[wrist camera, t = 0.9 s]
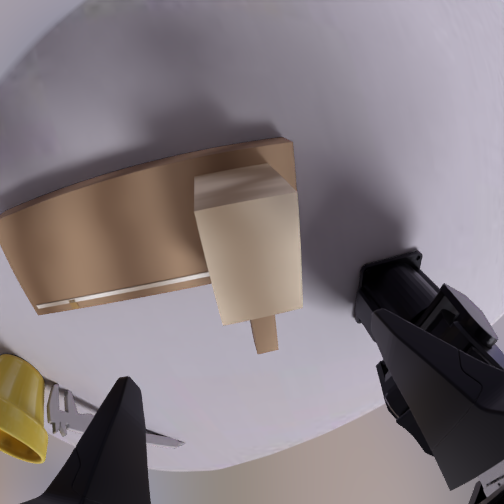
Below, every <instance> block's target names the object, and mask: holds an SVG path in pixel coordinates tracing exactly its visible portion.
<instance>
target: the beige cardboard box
mask: <svg viewBox="0 0 504 504" xmlns="http://www.w3.org/2000/svg"><path fill="white" fill-rule="evenodd" d="M194 213H195V217H196V222H197V226H198V230H199V234H200V239H201V243H202V247H203V251H204V255H205V259H206V263H207V267H208V271H209V275H210V279H211V283H212V286H213V290H214V294H215V298H216V301H217V305H218V309H219V313H220V316H221V320H222V323H223V326H224V325H229V324H234V323H239V322H244V321H248V320H250V322H251V328H252V333H253V338H254V342H255V346H256V350H257V354H262V353H266V352H270V351H275V350H278V340H277V330H276V321H275V314H280V313H284V312H288V311H292V310H296V309H300V308H303V296H302V266H301V243H300V224H299V208H298V193H297V191H296V190H295V189H294V188H293V187H292V186H291V185H290V184H289V183H288V182H287V181H286V180H285V179H284V178H283V177H282V176H281V175H280V174H279V173H278V172H277V171H276V170H274V169H273V168H272V167H271V166H270V165H269V164H268V163H266V164H260V165H254V166H248V167H242V168H236V169H231V170H225V171H220V172H215V173H210V174H205V175H200V176H195V177H194Z"/></svg>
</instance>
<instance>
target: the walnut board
mask: <svg viewBox="0 0 504 504" xmlns="http://www.w3.org/2000/svg"><path fill="white" fill-rule="evenodd" d="M266 163H268V164H269V165H270V166H271V167H272V168H273V169H274V170H276V171H277V172H278V173H279V174H280V175H281V176H282V177H283V178H284V179H285V180H286V181H287V182H288V183H289V184H290V185H291V186H292V187H293V188H294V189H295V190H296V191H297V188H296V174H295V162H294V151H293V142H292V141H290V140H288V139H286V138H284V137H279V138H271V139H264V140H257V141H250V142H244V143H237V144H232V145H226V146H220V147H215V148H210V149H204V150H199V151H195V152H190V153H185V154H181V155H176V156H172V157H167V158H163V159H159V160H155V161H151V162H147V163H143V164H139V165H136V166H132V167H128V168H125V169H121V170H118V171H114V172H111V173H108V174H104V175H101V176H98V177H95V178H91V179H88V180H85V181H82V182H79V183H76V184H73V185H70V186H67V187H65V188H62V189H59V190H56V191H54V192H51V193H48V194H46V195H43V196H40V197H38V198H35V199H33V200H30V201H28V202H25V203H23V204H20V205H18V206H16V207H13V208H11V209H9V210H7V211H5V212H3V213H2V214H1V215H0V245H1V247H2V249H3V252H4V254H5V256H6V258H7V260H8V262H9V264H10V266H11V268H12V270H13V272H14V274H15V276H16V278H17V280H18V281H19V283H20V285H21V287H22V289H23V290H24V292H25V294H26V296H27V297H28V299H29V301H30V303H31V304H32V306H33V307H34V309H35V311H36V312H37V314H38V315H43V314H49V313H55V312H61V311H67V310H73V309H79V308H85V307H90V306H96V305H102V304H107V303H113V302H118V301H124V300H129V299H135V298H140V297H145V296H151V295H156V294H161V293H166V292H172V291H177V290H182V289H187V288H192V287H197V286H202V285H207V284H212V283H211V279H210V275H209V271H208V267H207V263H206V259H205V255H204V251H203V247H202V243H201V239H200V234H199V230H198V226H197V222H196V217H195V213H194V177H195V176H200V175H205V174H210V173H215V172H220V171H225V170H231V169H236V168H242V167H248V166H254V165H260V164H266Z"/></svg>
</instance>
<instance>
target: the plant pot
mask: <svg viewBox="0 0 504 504" xmlns="http://www.w3.org/2000/svg"><path fill="white" fill-rule="evenodd" d="M44 389H45V383H44V379H43V377H42V376H41V374H40V373H39V372H38V371H37V370H36V369H35V368H34V367H33V366H32V365H31V364H29V363H28V362H26V361H25V360H23V359H21V358H19V357H17V356H14V355H11V354H2V355H0V451H2V452H4V453H6V454H8V455H10V456H12V457H15V458H18V459H20V460H23V461H26V462H31V463H36V464H40V463H43V462H44V461H45V458H46V451H47V444H48V434H47V432H46V430H45V429H44Z"/></svg>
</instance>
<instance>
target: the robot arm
mask: <svg viewBox="0 0 504 504" xmlns="http://www.w3.org/2000/svg"><path fill="white" fill-rule="evenodd" d="M421 260H422V254H421V253H420V252H419V251H415V252H411V253H407V254H404V255H400V256H396V257H393V258H389V259H385V260H381V261H378V262H374V263H370V264H366V265H364V266H363V267H362V269H361V274H360V283H359V289H358V291H357V299H356V307H355V313H356V314H355V320H356V322H357V323H362V324H363V325H364V327H365V328H366V330H367V331H368V333H369V334H370V336H371V338H372V339H373V341H374V342H376V343H377V345H378V347H379V350H380V352H381V354H382V357H383V360H382V361H380V362H379V363H378V364H377V365H376V368H377V372H378V375H379V379H380V383H381V387H382V391H383V395H384V399H385V403H386V405H387V408H388V411H389V412H390V413H391V414H392V415H393V416H394V417H395V418H396V419H397V420H396V422H397V423H398V424H399V425H400V426H402V427H403V428H405V429H406V430H407V431H408V432H409V433H411V435H413V437H414V438H415V439H416V440H417V442H418V443H419V444H420V446H421V447H422V448H423V450H424V452H425V453H427V454H429V455H432V456H434V457H435V459H436V461H437V463H438V466H439V468H440V470H441V472H442V474H443V476H444V478H445V481H446V483H447V485H448V487H449V489H450V491H451V490H453V489H455V488H457V487H459V486H461V485H463V484H465V483H467V482H468V481H470V480H472V479H474V478H476V477H477V476H478V478H479V480H480V481H478V482H477V483H476V485H475V488H474V491H473V493H472V496H471V499H470V501H469V504H504V354H503V353H502V351H501V350H500V349H499V348H498V347H497V346H496V345H495V343H496V342H497V340H498V337H497V335H496V333H495V332H494V330H493V328H492V327H491V325H490V323H489V322H488V320H487V318H486V317H485V315H484V314H483V312H482V311H481V310H480V309H479V308H478V307H477V306H476V305H475V304H474V303H473V302H472V301H471V300H470V299H469V298H468V297H467V296H466V295H464V294H462V293H461V292H459V291H457V290H455V289H454V288H452V287H450V286H448V285H446V284H445V283H444V284H443V285H442V287H441V288H440V289H439V288H438V287H437V286H436V285H435V284H434V283H433V282H432V281H431V280H430V279H429V278H428V277H427V276H426V275H425V274H424V273H423V272H422V271H421V270H420V265H421ZM367 270H368V271H367ZM20 504H151V501H150V492H149V480H148V466H147V449H146V427H145V419H144V411H143V403H142V394H141V390H140V388H139V387H138V386H137V385H136V383H135V382H134V381H133V380H132V379H131V378H130V377H128V376H126V377H120V378H119V379H118V380H117V381H116V383H115V384H114V386H113V387H112V389H111V391H110V392H109V394H108V395H107V397H106V398H105V400H104V401H103V403H102V405H101V406H100V408H99V409H98V411H97V413H96V414H95V416H94V417H93V419H92V421H91V422H90V424H89V425H88V427H87V429H86V430H85V432H84V434H83V435H82V437H81V439H80V440H79V442H78V444H77V445H76V448H75V449H74V450H73V452H72V454H71V455H70V457H69V459H68V460H67V462H66V463H65V465H64V466H63V467H62V469H61V470H60V472H59V473H58V475H57V476H56V477H55V479H54V480H53V481H52V483H51V484H50V486H49V487H48V488H47V490H46V491H45V492H44V493H43V494H42V495H41V496H39V497H37V498H35V499H32V500H29V501H27V502H24V503H20Z"/></svg>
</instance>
